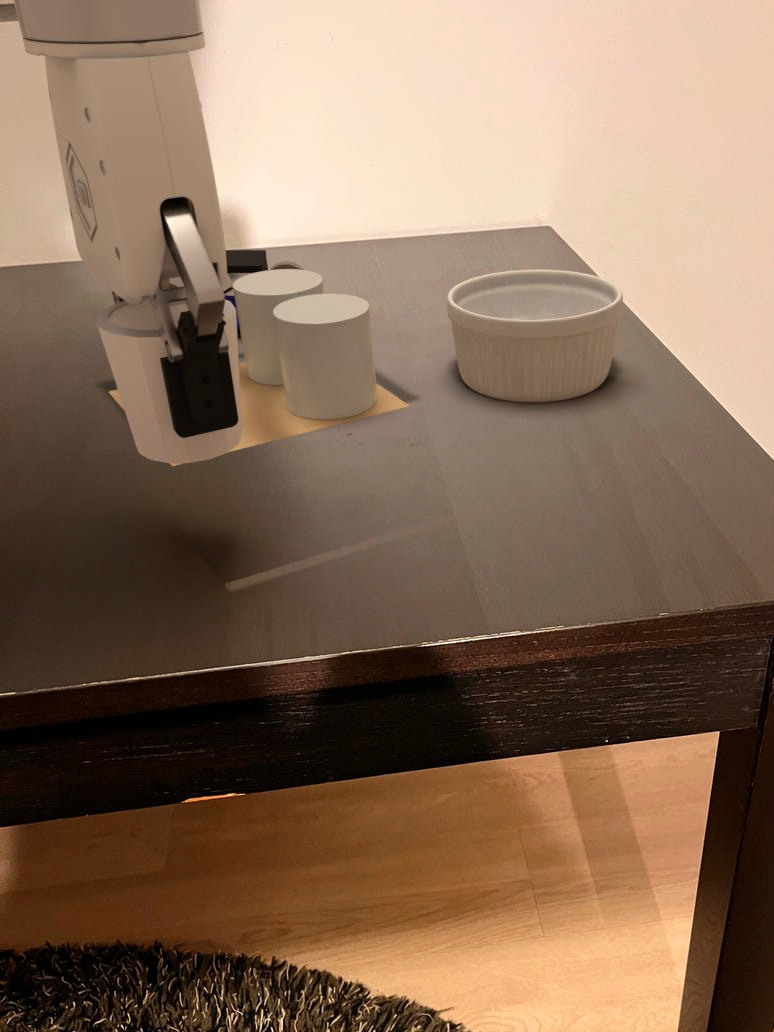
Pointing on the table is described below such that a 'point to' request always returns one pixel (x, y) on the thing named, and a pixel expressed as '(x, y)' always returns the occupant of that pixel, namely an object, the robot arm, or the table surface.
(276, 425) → the board
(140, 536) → the table surface
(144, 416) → the white tapered cup
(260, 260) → the figurine character
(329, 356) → the white front cylinder
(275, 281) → the white tall rear cylinder
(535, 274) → the ramekin
